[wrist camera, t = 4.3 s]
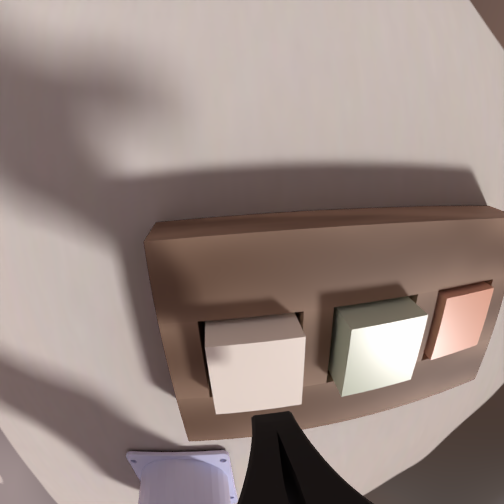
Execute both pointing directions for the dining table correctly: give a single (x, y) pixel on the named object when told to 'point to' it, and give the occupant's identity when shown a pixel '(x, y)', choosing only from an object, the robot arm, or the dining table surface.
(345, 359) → the sage button
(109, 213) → the dining table surface
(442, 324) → the terracotta button
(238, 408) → the cream button
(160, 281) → the button panel
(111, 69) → the dining table surface
